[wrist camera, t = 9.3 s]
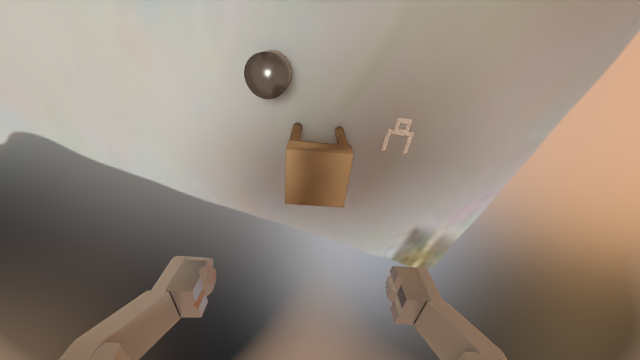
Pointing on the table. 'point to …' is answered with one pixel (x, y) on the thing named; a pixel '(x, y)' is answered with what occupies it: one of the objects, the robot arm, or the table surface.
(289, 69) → the grey domed cylinder
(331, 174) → the tan peg block
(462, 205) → the table surface
